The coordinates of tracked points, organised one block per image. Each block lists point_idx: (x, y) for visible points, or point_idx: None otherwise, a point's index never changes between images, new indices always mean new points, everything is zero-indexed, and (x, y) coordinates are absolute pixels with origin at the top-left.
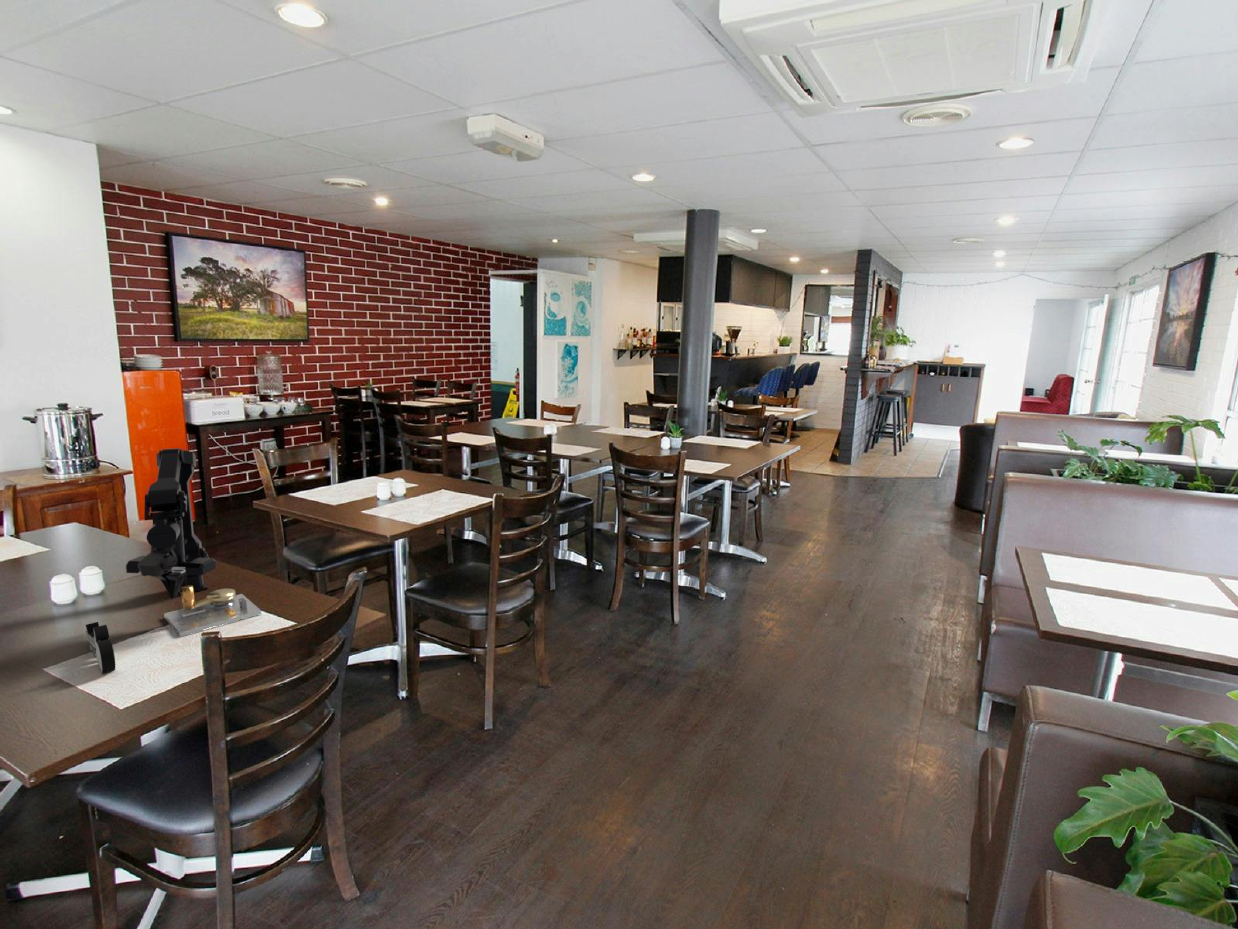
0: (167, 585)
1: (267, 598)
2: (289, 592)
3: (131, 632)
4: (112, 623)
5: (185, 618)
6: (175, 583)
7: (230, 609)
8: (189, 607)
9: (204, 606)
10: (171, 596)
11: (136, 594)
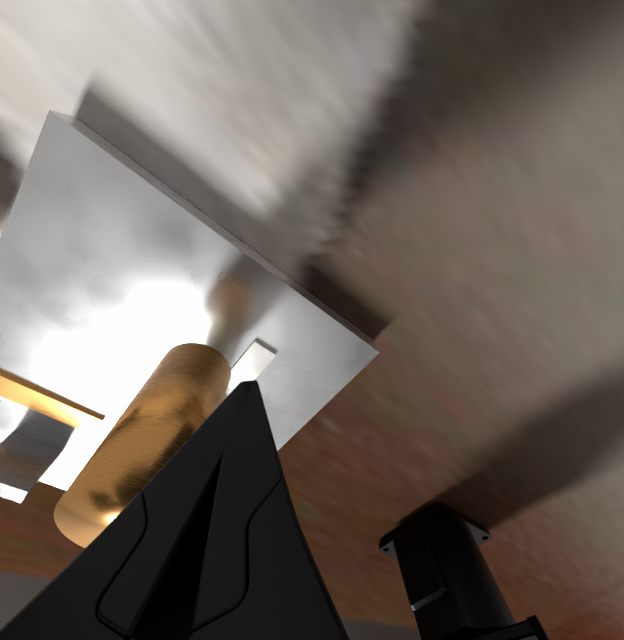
0: (229, 513)
1: None
2: (69, 563)
3: (437, 156)
4: (598, 255)
5: (215, 315)
6: (63, 577)
7: (72, 425)
8: (161, 359)
9: None
10: (247, 394)
11: (606, 485)
